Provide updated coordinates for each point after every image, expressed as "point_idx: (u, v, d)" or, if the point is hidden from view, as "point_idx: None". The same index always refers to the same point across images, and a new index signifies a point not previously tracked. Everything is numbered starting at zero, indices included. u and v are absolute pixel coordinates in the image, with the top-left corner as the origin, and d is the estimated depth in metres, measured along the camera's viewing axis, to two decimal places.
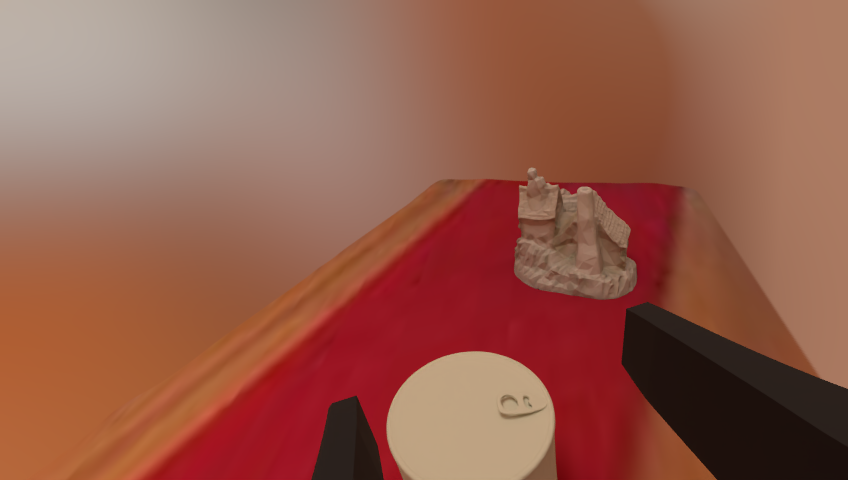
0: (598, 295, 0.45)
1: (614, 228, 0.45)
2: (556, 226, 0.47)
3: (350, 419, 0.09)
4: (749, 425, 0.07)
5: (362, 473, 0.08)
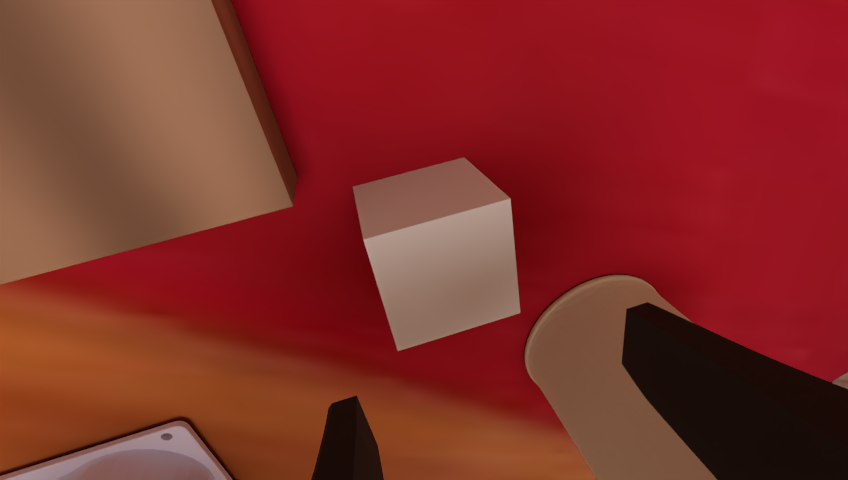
0: None
1: None
2: None
3: (350, 419, 0.09)
4: (749, 425, 0.07)
5: (362, 473, 0.08)
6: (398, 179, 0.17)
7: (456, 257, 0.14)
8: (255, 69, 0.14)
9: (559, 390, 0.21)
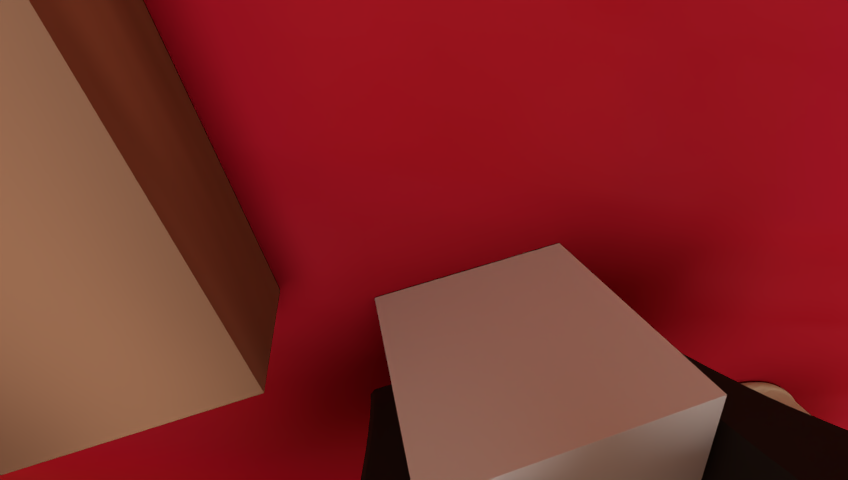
0: None
1: None
2: None
3: (395, 404, 0.09)
4: None
5: None
6: (455, 290, 0.10)
7: None
8: (189, 111, 0.07)
9: None
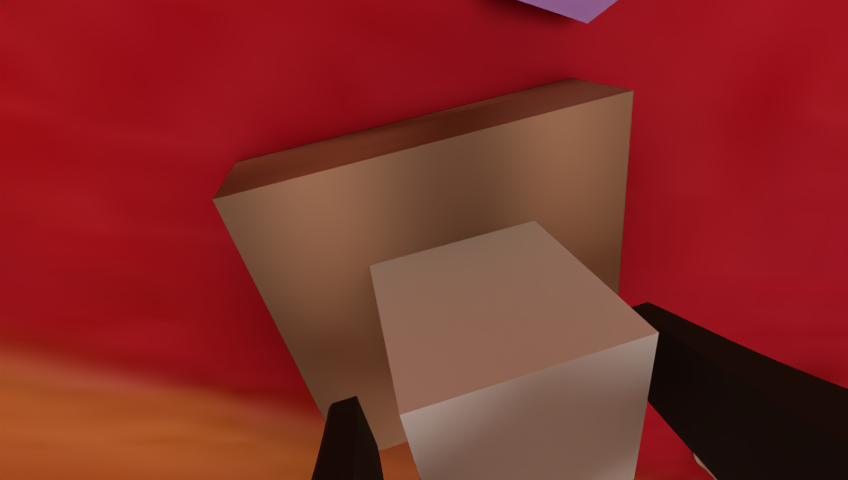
0: None
1: None
2: None
3: (350, 419, 0.09)
4: (749, 425, 0.07)
5: (362, 473, 0.08)
6: (440, 258, 0.11)
7: (553, 421, 0.08)
8: None
9: None
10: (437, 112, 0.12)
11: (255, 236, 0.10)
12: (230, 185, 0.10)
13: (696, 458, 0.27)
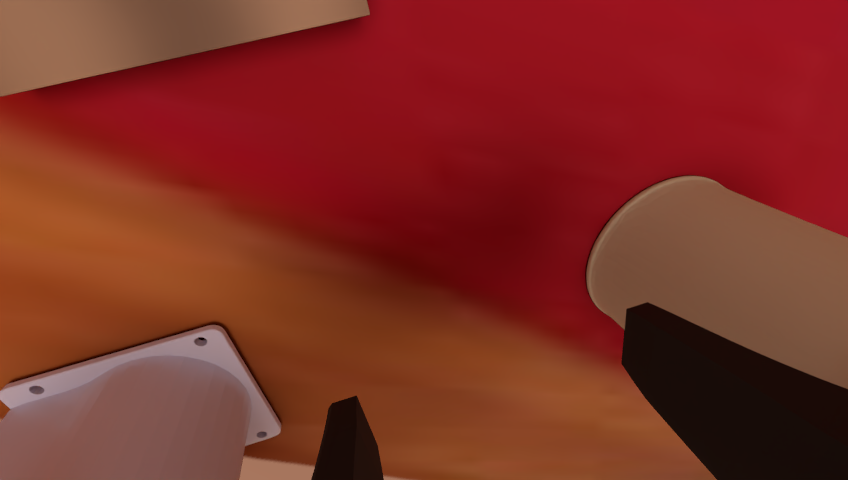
0: None
1: None
2: None
3: (350, 419, 0.09)
4: (749, 425, 0.07)
5: (362, 473, 0.08)
6: None
7: None
8: None
9: (636, 293, 0.18)
10: None
11: None
12: None
13: (591, 295, 0.23)
